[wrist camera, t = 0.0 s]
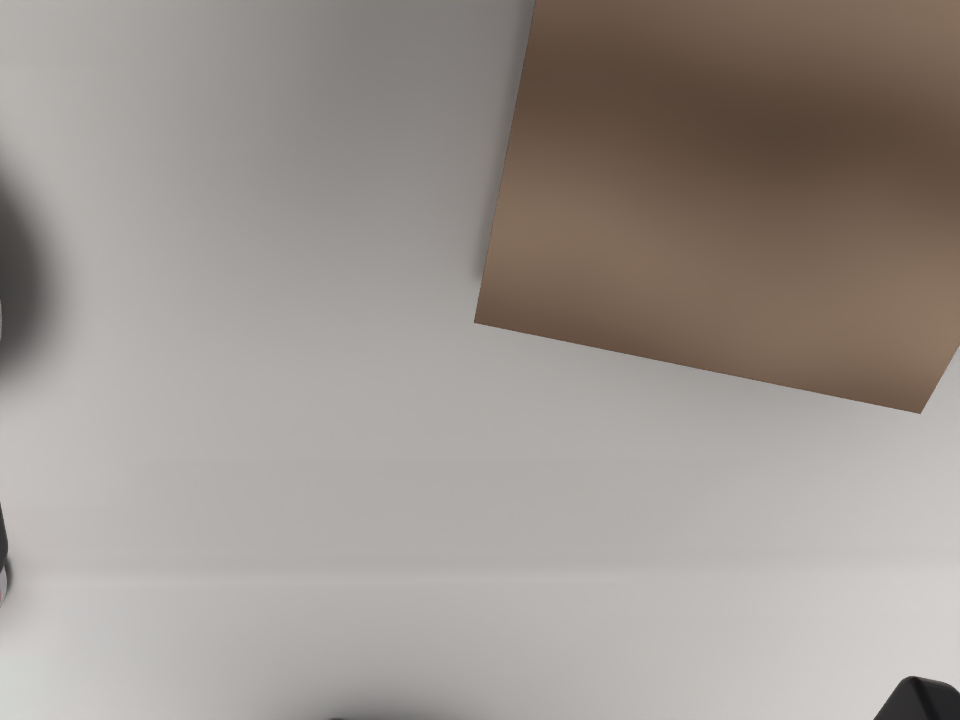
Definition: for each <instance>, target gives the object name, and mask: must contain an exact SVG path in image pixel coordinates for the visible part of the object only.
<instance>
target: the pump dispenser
mask: <svg viewBox="0 0 960 720" xmlns="http://www.w3.org/2000/svg"><path fill="white" fill-rule="evenodd" d="M1 329H2V312H1V301H0V341H1Z"/></svg>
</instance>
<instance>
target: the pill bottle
mask: <svg viewBox="0 0 960 720" xmlns="http://www.w3.org/2000/svg"><path fill="white" fill-rule="evenodd" d="M6 589H7V577H6V571H5V567H3V569H2V571H1V573H0V607H1V605H2V603H3V601H4V598H5V595H6Z"/></svg>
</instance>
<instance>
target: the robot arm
mask: <svg viewBox="0 0 960 720" xmlns="http://www.w3.org/2000/svg"><path fill="white" fill-rule="evenodd" d="M7 553H8V540H7V535H6V530H5V525H4V519H3V514H2V509H1V504H0V573H1V571H2V569H3V567H4V564H5V561H6V558H7ZM874 720H960V693H959V692H958V691H957V690H956V689H955V688H954V687H952V686H951V685H949V684H947V683H944V682H941V681H936V680H931V679H926V678H921V677H916V676H909V677H907V678H905V679H903V680H902V681H901V682H900V683H899V684H898V686H897V687H896V688H895V690H894V691H893V693H892V694H891V695H890V697H889V698H888V700H887V701H886V703H885V704H884V705H883V707H882V708H881V710H880V711H879V712H878V714H877V715H876V717H875V718H874Z"/></svg>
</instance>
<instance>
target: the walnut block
mask: <svg viewBox="0 0 960 720" xmlns="http://www.w3.org/2000/svg"><path fill="white" fill-rule="evenodd" d="M474 323H478V324H483V325H488V326H493V327H498V328H502V329H507V330H512V331H517V332H522V333H527V334H532V335H537V336H542V337H546V338H551V339H556V340H561V341H566V342H571V343H576V344H581V345H586V346H591V347H595V348H600V349H605V350H610V351H615V352H620V353H625V354H630V355H635V356H640V357H644V358H649V359H654V360H659V361H664V362H669V363H674V364H679V365H684V366H689V367H693V368H698V369H703V370H708V371H713V372H718V373H723V374H728V375H733V376H738V377H742V378H747V379H752V380H757V381H762V382H767V383H772V384H777V385H782V386H787V387H791V388H796V389H801V390H806V391H811V392H816V393H821V394H826V395H831V396H836V397H840V398H845V399H850V400H855V401H860V402H865V403H870V404H875V405H880V406H885V407H889V408H894V409H899V410H904V411H909V412H914V413H919V414H921V412H922V410H923V408H924V407H925V405H926V403H927V401H928V400H929V398H930V396H931V394H932V393H933V391H934V389H935V387H936V385H937V384H938V382H939V380H940V378H941V377H942V375H943V373H944V371H945V370H946V368H947V366H948V364H949V363H950V361H951V359H952V357H953V355H954V354H955V352H956V350H957V348H958V347H959V345H960V0H536V2H535V7H534V13H533V18H532V23H531V28H530V33H529V39H528V44H527V49H526V54H525V59H524V65H523V70H522V75H521V80H520V85H519V91H518V96H517V101H516V106H515V111H514V117H513V122H512V127H511V132H510V137H509V143H508V148H507V153H506V158H505V163H504V169H503V174H502V179H501V184H500V189H499V195H498V200H497V205H496V210H495V215H494V221H493V226H492V231H491V236H490V241H489V247H488V252H487V257H486V262H485V267H484V273H483V278H482V283H481V288H480V293H479V298H478V304H477V309H476V314H475V319H474Z"/></svg>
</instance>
